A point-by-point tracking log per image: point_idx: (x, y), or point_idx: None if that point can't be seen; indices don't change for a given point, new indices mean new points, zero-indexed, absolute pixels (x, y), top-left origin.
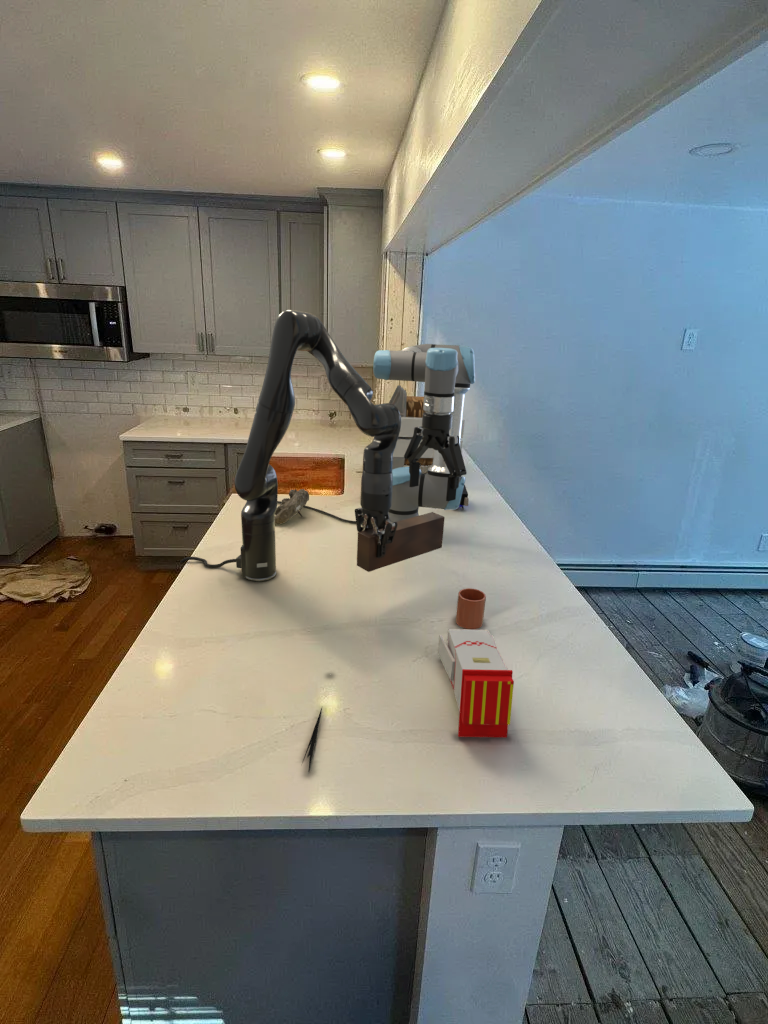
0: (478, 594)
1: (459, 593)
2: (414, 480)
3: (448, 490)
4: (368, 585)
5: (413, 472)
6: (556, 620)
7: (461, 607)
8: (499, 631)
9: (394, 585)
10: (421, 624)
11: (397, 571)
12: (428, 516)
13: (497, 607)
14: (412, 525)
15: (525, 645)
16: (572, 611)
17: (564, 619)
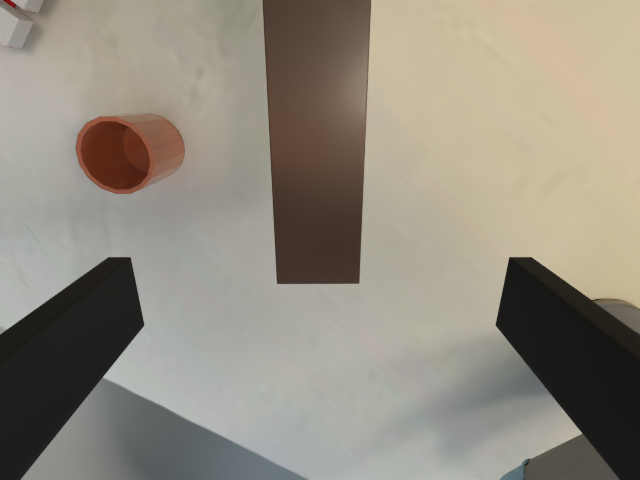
0: (130, 186)
1: (136, 131)
2: (533, 312)
3: (54, 299)
4: (442, 66)
5: (592, 345)
6: None
7: (125, 115)
8: None
9: (395, 128)
10: (202, 38)
11: (445, 190)
12: (324, 224)
13: (175, 248)
14: (269, 48)
15: (22, 173)
16: None
17: None
